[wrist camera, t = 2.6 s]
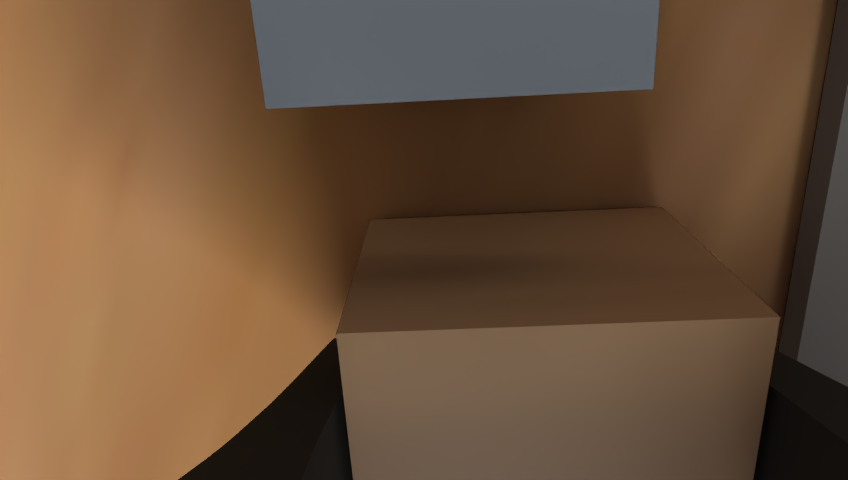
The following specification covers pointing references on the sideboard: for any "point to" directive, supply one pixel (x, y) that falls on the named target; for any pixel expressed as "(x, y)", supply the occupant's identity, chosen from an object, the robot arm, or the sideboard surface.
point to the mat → (824, 231)
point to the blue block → (450, 49)
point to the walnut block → (551, 351)
